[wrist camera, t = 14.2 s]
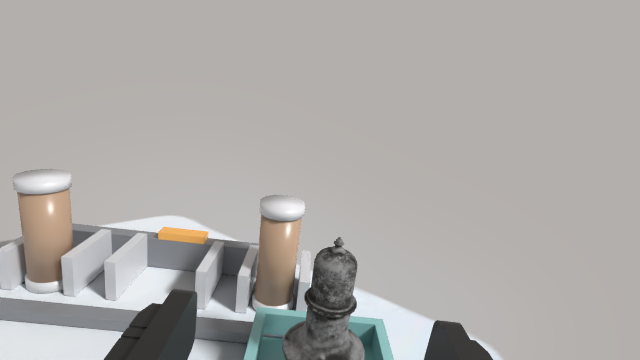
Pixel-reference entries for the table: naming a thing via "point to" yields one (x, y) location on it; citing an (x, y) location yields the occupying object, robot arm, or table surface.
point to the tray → (267, 353)
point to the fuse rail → (128, 263)
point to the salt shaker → (327, 311)
